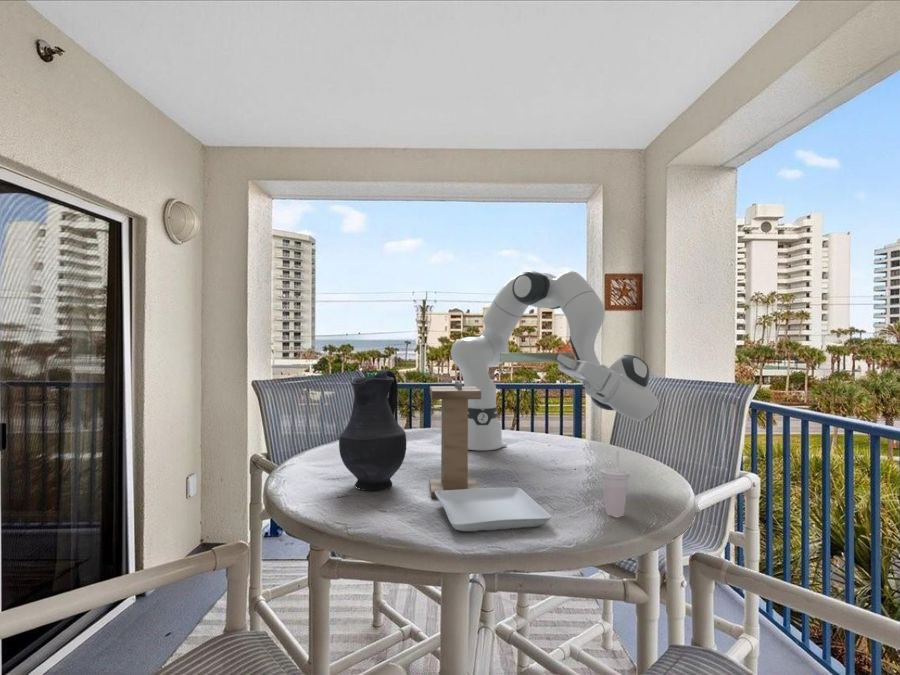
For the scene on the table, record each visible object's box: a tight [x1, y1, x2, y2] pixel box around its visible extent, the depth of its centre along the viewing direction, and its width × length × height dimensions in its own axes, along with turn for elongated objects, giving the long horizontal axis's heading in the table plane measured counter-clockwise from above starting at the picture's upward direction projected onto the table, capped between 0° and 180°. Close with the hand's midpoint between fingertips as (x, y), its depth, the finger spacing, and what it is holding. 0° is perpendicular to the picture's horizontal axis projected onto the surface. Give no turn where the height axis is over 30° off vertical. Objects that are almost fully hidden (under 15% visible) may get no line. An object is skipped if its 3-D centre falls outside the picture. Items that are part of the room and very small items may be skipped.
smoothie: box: [599, 450, 631, 516], centre depth 114 cm, size 6×6×14 cm
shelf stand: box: [428, 380, 481, 499], centre depth 131 cm, size 12×12×28 cm
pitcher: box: [338, 369, 407, 491], centre depth 136 cm, size 17×21×30 cm
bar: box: [500, 352, 576, 364], centre depth 133 cm, size 2×19×2 cm, turn 95°
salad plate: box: [435, 486, 552, 532], centre depth 113 cm, size 21×21×3 cm
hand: (555, 355), depth 133 cm, fingers closed on bar, 2 cm apart
